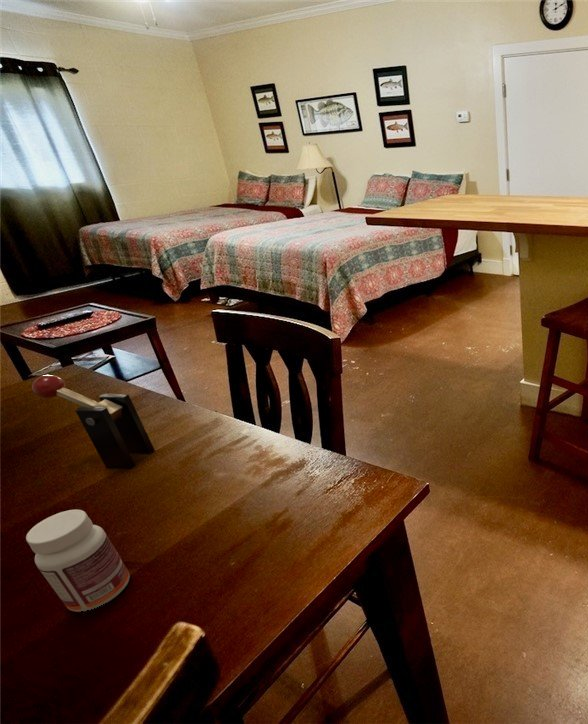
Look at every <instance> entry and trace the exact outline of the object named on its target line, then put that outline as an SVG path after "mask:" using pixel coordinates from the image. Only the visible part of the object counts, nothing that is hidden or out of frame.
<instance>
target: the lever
mask: <svg viewBox="0 0 588 724" xmlns="http://www.w3.org/2000/svg"><path fill="white" fill-rule="evenodd" d="M31 389H32V391H33V393H34V394H35V395H37V396H39V397H41V398H47V399H48V398H50V399H51V398H55V397H61V398H63V399H65V400H67V401H69V402H72V403H74V404H77V405H79V406H80V407H98V408H107V409H108V411H109V413H110V415H111V417H112V419H113V421H115V420H117V419H119V418H120V417H121V413H122V406H120V405H118V404H115V403H113V402H111V401H109V400H106V399H104V400H103V401H99V402H98V401H96V400H94V399H91V398H89V397H87V396H85V395H82V394H81V393H78V392H75V391H73V390H71V389H68V388H66V383H65V381H64V380H63V379H62V378H61V377H60V376H57V375H54V374H44V375H41V376H38V377H37V378H36V379H34V381H33V382H32V385H31Z"/></svg>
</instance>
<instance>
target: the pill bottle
mask: <svg viewBox="0 0 588 724" xmlns="http://www.w3.org/2000/svg"><path fill="white" fill-rule="evenodd" d="M25 541H26V543H27V544H28V545H29V546H30V549H31V550H32V552H33V553H34V554H35V555H34V563H35V565H36V568H37V569H38V570H39V571H40V573H41V575H42V576H43V577H44V578H45V579H46V581H47V583H48V584H49V585H50V587H51V588H52V589H53V591H54V592H55V594H56V595H57V596H58V598H59V599H60V600H61V602H62V603H63V605H64V606H65V607H66V608H67V609H68V610H69V611H71V612H75V613H82V612H81V611H83V612H88V611H87V610H89V611H92V610H95V609H98V608H100V607H102V606H104V605H106V604H107V603H109V602H110V601H112V600H113V599H115V598H117V596H118V595H120V593H122V592H123V591H124V589H125V588H126V587H127V586H128V583H129V582H130V578H131V575H130V571H129V570H128V568H127V566H126V565H125V563H124V561H123V560H122V558H121V556H120V555H119V553H118V550H117V549H116V547H115V546H114V544H113V543H112V542H111V541H112V540H110V539H109V537H108V534H107V533H106V532H105V530H104V529H103V528H102V527H101V526H100V525H97V524H93V522H92V520H91V518H90V517H89V516H88V514H87V512H86V511H84V510H82V509H69V510H65V511H60V512H58V513H56V514H53V515H51V516H48V517H46V518H45V519H43V520H41V521H40V522H38V523H36V524H35V525H34V526H33V527H32V528H31V529H29V531H27V534H26V536H25ZM105 603H106V604H105ZM103 604H104V605H103ZM101 605H102V606H101ZM99 606H100V607H99ZM97 607H98V608H97ZM94 608H95V609H94ZM91 609H92V610H91Z"/></svg>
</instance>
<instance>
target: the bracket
mask: <svg viewBox="0 0 588 724" xmlns="http://www.w3.org/2000/svg"><path fill="white" fill-rule="evenodd" d="M98 399H99V402H101V401H103V400H104V399H106V400H109V401H111V402H113V403H115V404H118V405H120V406H122V413H121V417H120V418H119V419H117V420H115V421H113V419H112V417H111V415H110V413H109V411H108V409H107V408H98V407H83V406H80V407H78V408H76V409H75V410H74V411H75V413H76V415H77V417H78V419H79V421H80V422H81V424H82V426H83V428H84V430H85V431H86V433H87V435H88V437H89V439H90V441H91V443H92V444H93V446H94V448H95V450H96V452H97V454H98V456H99V457H100V459H101V461H102V463H103V464H104V467H105V468H106V469H113V470H132V469H133V468H134V467H136V466H137V464H136V462H135V461H134V460H133V459H134V458H133V457H132V455H131V454H138V455H152V454H153V453H154V452H155V451H156V450H155V448H154V446H153V443H152V440H151V439H150V437H149V435H148V433H147V431H146V429H145V426H144V425H143V421H142V420H141V418H140V416H139V414H138V411H137V409H136V408H135V405H134V403H133V401H132V399H131V396H130V395H129V394H122V393H121V394H120V393H119V394H118V393H117V394H116V393H103V394H100V395H99V396H98Z"/></svg>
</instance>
